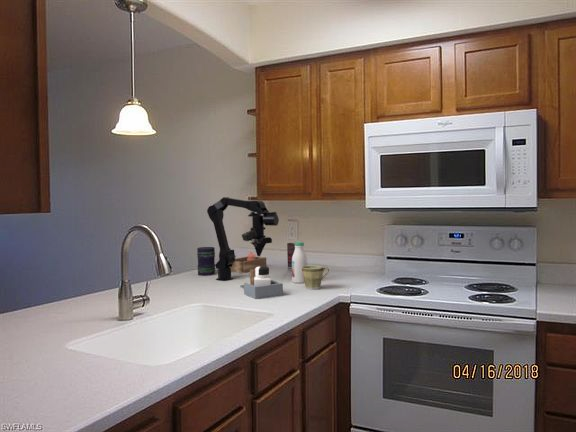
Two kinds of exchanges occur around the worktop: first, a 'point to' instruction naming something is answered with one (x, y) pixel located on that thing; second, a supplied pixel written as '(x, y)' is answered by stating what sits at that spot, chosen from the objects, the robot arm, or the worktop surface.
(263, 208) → the robot arm
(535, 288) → the worktop surface
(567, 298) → the worktop surface
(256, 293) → the grey angular block
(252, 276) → the tan wooden stepped block
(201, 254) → the storage jar
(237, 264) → the wooden box
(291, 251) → the supplement box
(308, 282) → the ceramic cup
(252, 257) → the pottery
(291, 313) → the worktop surface
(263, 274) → the medicine bottle
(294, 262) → the milk bottle
